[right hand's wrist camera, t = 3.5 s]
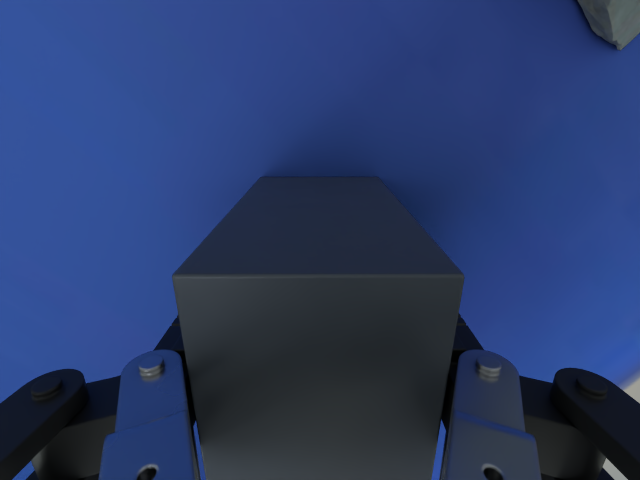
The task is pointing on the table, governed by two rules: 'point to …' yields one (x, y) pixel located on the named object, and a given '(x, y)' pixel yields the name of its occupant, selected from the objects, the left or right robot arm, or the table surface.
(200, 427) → the box
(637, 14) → the stone
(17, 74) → the table surface
